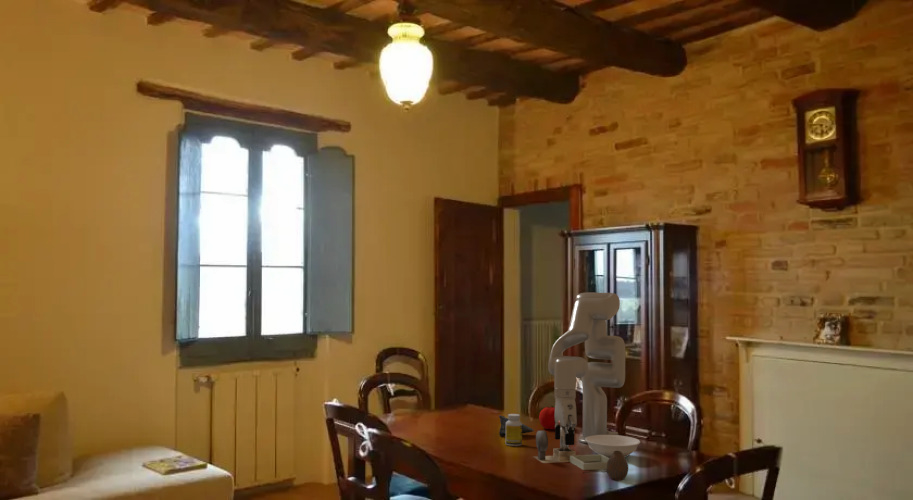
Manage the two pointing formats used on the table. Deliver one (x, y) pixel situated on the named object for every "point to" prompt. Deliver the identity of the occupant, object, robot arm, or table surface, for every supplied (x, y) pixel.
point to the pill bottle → (513, 430)
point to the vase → (617, 466)
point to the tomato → (547, 417)
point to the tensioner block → (557, 454)
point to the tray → (580, 460)
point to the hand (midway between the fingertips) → (564, 442)
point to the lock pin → (563, 439)
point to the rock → (503, 427)
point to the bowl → (612, 444)
